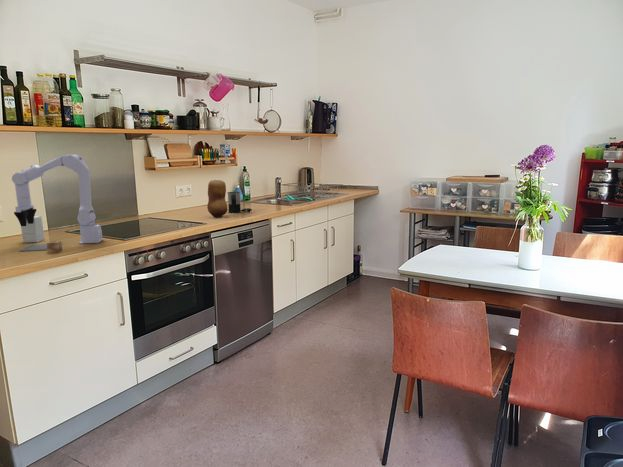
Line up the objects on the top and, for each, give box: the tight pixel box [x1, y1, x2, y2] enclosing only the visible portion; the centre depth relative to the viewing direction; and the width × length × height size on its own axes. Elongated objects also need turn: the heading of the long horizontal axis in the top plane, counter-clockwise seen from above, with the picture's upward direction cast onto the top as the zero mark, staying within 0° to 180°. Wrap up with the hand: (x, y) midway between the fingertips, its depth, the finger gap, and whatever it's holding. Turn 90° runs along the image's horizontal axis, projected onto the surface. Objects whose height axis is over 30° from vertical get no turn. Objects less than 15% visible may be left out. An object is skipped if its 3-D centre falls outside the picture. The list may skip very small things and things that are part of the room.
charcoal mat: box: [18, 242, 63, 253], centre depth 220 cm, size 14×14×1 cm
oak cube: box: [46, 240, 63, 254], centre depth 210 cm, size 5×5×5 cm
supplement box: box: [20, 215, 45, 244], centre depth 235 cm, size 7×7×13 cm
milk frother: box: [226, 191, 252, 214], centre depth 329 cm, size 14×16×15 cm
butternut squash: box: [206, 179, 229, 219], centre depth 306 cm, size 14×13×25 cm
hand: (27, 224), depth 225 cm, fingers open, 7 cm apart
